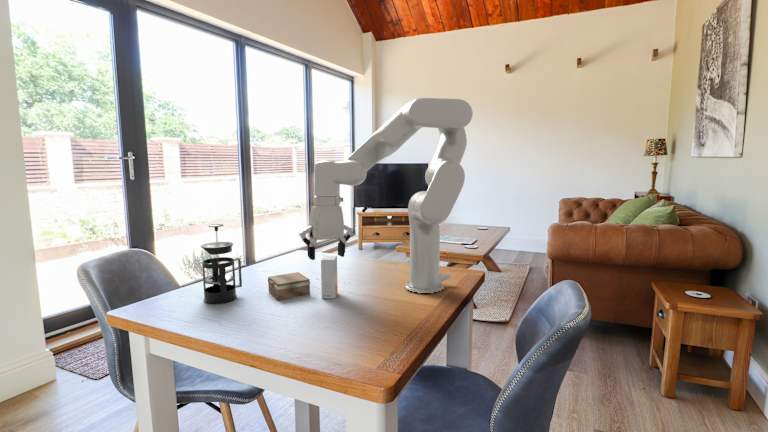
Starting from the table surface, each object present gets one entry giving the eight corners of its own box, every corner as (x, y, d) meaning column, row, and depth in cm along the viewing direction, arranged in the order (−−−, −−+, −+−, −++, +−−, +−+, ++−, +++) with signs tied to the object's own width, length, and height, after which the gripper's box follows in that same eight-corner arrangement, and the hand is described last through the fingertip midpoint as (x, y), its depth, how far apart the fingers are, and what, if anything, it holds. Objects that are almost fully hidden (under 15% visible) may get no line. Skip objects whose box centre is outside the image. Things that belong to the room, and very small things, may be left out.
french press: (205, 306, 123) (200, 228, 120) (198, 298, 130) (193, 224, 127) (246, 299, 129) (242, 224, 126) (237, 291, 137) (233, 220, 134)
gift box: (298, 286, 141) (298, 272, 141) (310, 294, 133) (309, 279, 132) (266, 292, 136) (265, 276, 135) (276, 301, 127) (275, 284, 127)
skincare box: (335, 298, 129) (334, 260, 127) (321, 298, 129) (320, 260, 127) (338, 292, 135) (337, 255, 133) (324, 292, 135) (323, 255, 134)
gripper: (347, 200, 136) (346, 252, 138) (295, 201, 127) (295, 257, 129) (358, 202, 129) (357, 257, 132) (304, 203, 120) (304, 263, 123)
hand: (326, 257), depth 130 cm, fingers open, 9 cm apart
